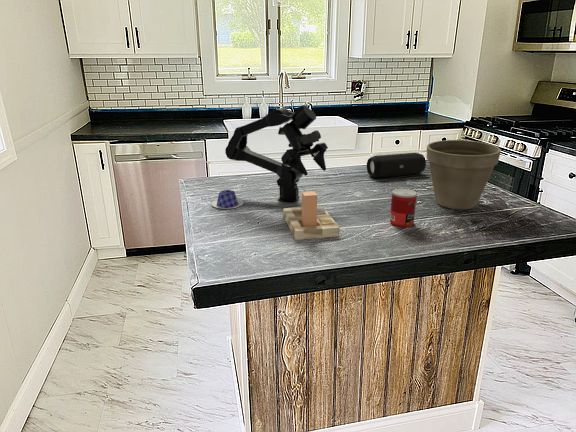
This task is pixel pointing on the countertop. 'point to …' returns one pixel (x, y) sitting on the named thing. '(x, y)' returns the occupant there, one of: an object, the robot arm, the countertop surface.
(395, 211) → the canned food
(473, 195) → the plant pot
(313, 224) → the plug
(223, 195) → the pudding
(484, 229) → the countertop surface
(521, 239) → the countertop surface
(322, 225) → the socket plate
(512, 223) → the countertop surface
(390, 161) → the portable speaker
